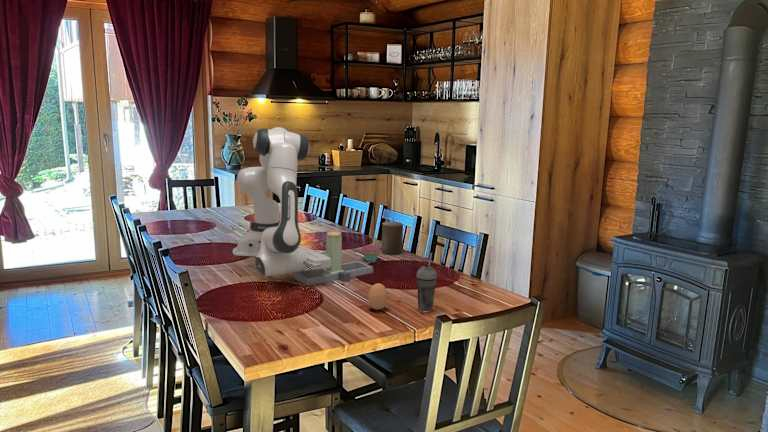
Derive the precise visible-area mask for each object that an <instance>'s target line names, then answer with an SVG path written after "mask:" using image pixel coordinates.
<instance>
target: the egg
mask: <svg viewBox="0 0 768 432" xmlns="http://www.w3.org/2000/svg"><path fill="white" fill-rule="evenodd" d="M367 301H368V304H369V305H370V306H371V308H372V309H374V310H377V311H380V310H383V309H384V308H385V307H386V306H387V304H388V301H389V295H388V291H387V288H386V286H385V285H384V284H382V283H379V282H378V283H375V284H373V285H372V286H371V288H370V289H369V291H368V296H367Z"/></svg>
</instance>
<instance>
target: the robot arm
mask: <svg viewBox="0 0 768 432" xmlns="http://www.w3.org/2000/svg"><path fill="white" fill-rule="evenodd" d="M252 146H253V150H254V152H255V153H256V154H258V155H259V157H258V159H259V163H260V165H261V166H251V167H245V168H242V169H240V170H239V171H238V174H237V177H236V182H237V185H238V187H239V189H240V190H241V191H243V192H244V193H245V194H246V195H247V196H248V197H249V198H250V200H251V202H252V206H253V211H254V212H253V213H254V220H253V219H252V220H250V222H249V230H248V231H246V232H245V233H244V234H243V235H241V236H240V237H239V238H238V241H237V246H235V247H234V248H233V249H232V252H231V253H233V254H232V255H233V256H239V257H255V259H254V262H255V268H256V270H257V271H258V273H259V274H260V275H262V276H264V277H274V276H282V275H284V274H287V273H288V274H294V272H299V271H305V270H307V268H311V269H323V268H329V267H331V254H329V253H327V252H326V251H324V252H322V251H321V252H320V251H316V250H313V249H311V248H309V247H307V246H300V244H301V241H302V236H301V231H300V228H299V218H298V217H299V215H298V214H299V194H298V193H299V192H298V187H297V180H298V179H297V178H298V177H297V176H298V161H304V160H305V159H306V158H307V157H308V154H309V153H310V139H309V138H308V136H307V135H304V134H301V133H299V134H298V133H295V132H292V131H288V130H287V129H285V127H280V126H278V127H277V126H275V127H273V128H271V129H268V128H259V129H257V130H256V133H255V134H254V135H253V138H252ZM267 192H272V193H274V194H275V195H276V196H277V197H278V198H279V203H280V204H279V203H278V202H277V201H276V200H274V199H273V198H270V197H268V195H267Z"/></svg>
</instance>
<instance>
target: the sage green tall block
mask: <svg viewBox="0 0 768 432" xmlns="http://www.w3.org/2000/svg"><path fill="white" fill-rule="evenodd" d="M342 238H343V236H342V232H341V231H336V230H332V231H331V230H330V231H327V232H326V235H325V245H326V247H325V252H327V253H329V254H331V267H329V268H325V269H323V270H322V274H321V275H327V274H332V273H338V272H342V271H345V270H341V264H342V255H343V254H342V252H343V251H342V249H343V248H342V247H343V246H342V245H343V242H342V241H343V240H342Z"/></svg>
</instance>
